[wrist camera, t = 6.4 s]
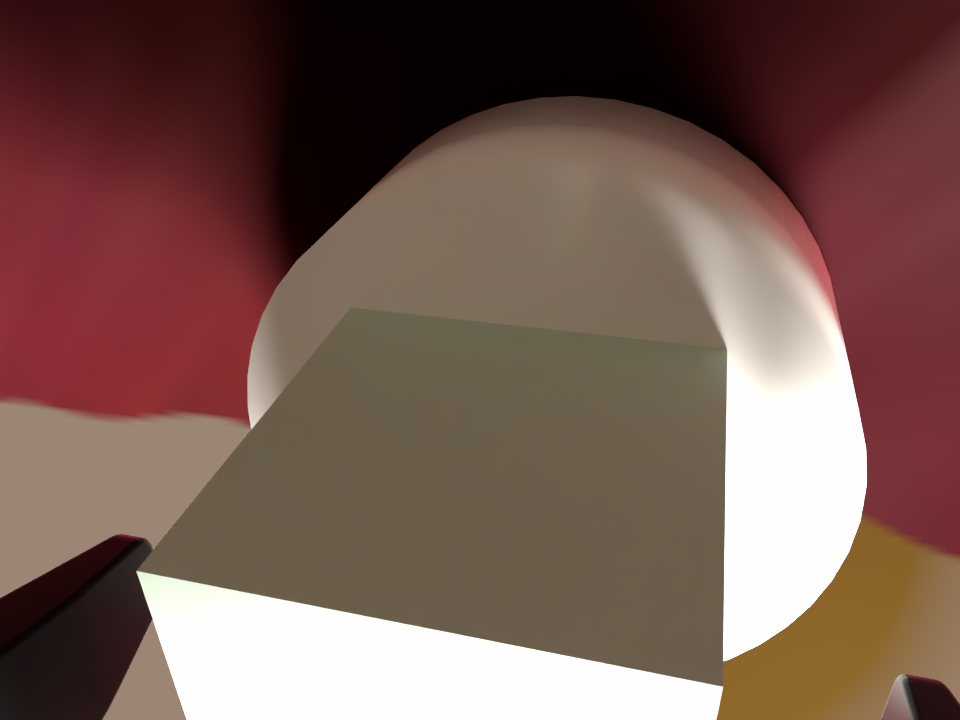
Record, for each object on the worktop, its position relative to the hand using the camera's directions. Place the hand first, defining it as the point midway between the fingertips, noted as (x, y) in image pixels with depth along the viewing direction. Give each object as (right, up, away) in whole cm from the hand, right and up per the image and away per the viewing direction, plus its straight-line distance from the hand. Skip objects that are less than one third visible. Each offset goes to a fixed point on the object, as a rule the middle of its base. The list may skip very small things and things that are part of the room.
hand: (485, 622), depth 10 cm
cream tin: (+2, +3, +6) cm, 7 cm away
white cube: (+1, +1, +2) cm, 3 cm away
